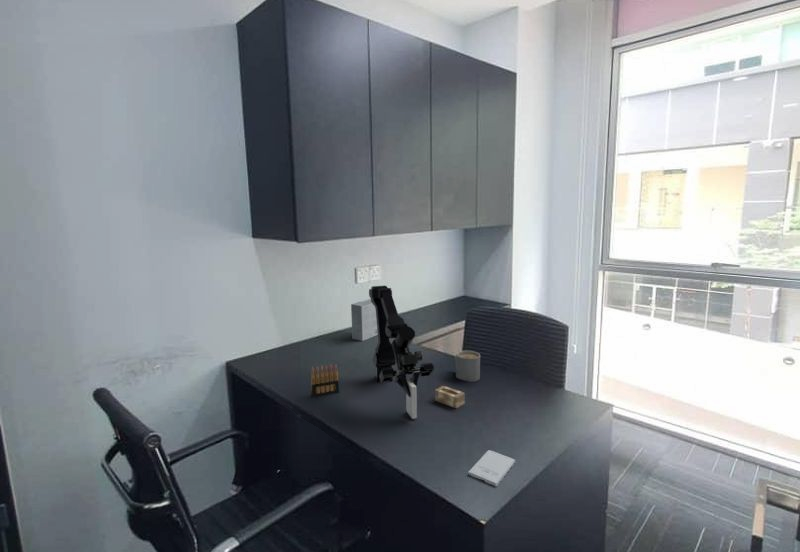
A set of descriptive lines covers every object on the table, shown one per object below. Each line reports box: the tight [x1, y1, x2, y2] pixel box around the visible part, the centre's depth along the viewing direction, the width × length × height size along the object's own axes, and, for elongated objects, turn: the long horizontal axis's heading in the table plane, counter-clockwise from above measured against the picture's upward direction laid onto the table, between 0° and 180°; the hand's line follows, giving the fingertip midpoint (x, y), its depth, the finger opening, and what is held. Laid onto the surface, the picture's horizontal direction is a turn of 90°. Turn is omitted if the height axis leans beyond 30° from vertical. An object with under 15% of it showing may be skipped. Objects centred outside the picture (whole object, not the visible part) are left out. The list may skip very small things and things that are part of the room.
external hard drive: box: [467, 449, 516, 487], centre depth 111 cm, size 2×8×12 cm
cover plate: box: [405, 379, 418, 420], centre depth 138 cm, size 6×2×11 cm, turn 18°
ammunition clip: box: [310, 362, 340, 398], centre depth 156 cm, size 11×2×12 cm, turn 113°
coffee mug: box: [454, 350, 481, 383], centre depth 173 cm, size 13×10×10 cm
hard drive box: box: [350, 298, 378, 342], centre depth 227 cm, size 16×8×20 cm, turn 144°
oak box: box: [434, 385, 466, 409], centre depth 149 cm, size 10×5×4 cm, turn 48°
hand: (412, 396), depth 137 cm, fingers closed on cover plate, 2 cm apart
